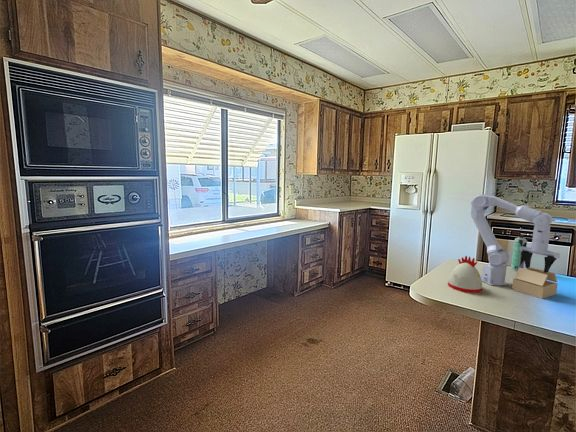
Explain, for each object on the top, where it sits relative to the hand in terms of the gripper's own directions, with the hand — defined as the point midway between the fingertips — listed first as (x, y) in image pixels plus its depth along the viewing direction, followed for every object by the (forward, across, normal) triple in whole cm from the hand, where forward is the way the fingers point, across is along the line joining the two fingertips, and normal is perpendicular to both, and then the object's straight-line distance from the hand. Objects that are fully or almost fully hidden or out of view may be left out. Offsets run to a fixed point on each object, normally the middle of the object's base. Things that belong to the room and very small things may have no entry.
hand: (536, 269), depth 142 cm
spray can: (+10, +22, -29) cm, 38 cm away
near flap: (+3, 0, +4) cm, 5 cm away
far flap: (+3, 0, -5) cm, 6 cm away
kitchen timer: (+10, +17, +24) cm, 31 cm away
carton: (+10, 0, -1) cm, 10 cm away
